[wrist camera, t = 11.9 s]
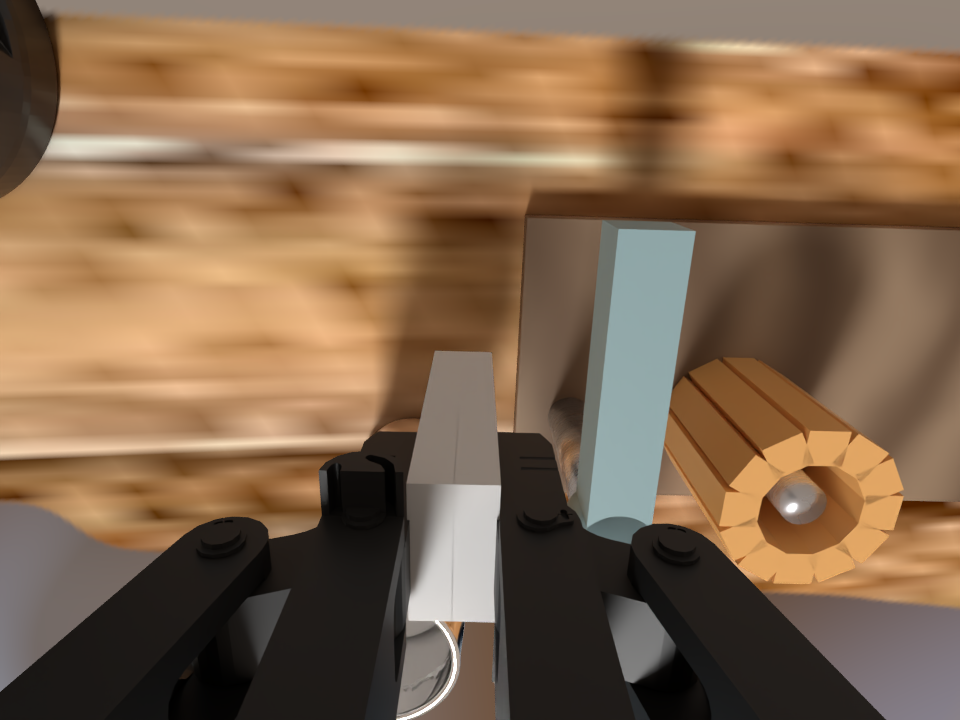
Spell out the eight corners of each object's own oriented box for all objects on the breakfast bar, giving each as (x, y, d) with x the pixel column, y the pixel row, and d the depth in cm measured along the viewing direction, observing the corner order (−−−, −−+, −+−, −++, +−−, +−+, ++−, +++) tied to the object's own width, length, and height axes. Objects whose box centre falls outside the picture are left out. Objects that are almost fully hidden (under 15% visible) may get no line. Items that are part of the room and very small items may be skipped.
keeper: (636, 546, 25) (652, 587, 23) (561, 545, 25) (570, 585, 23) (682, 222, 21) (708, 231, 18) (591, 219, 21) (605, 228, 18)
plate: (510, 478, 37) (512, 491, 35) (525, 214, 31) (527, 217, 30) (987, 489, 37) (1007, 502, 36) (1081, 231, 32) (1110, 235, 30)
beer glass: (336, 435, 36) (244, 624, 21) (441, 393, 35) (416, 560, 21) (388, 525, 38) (335, 750, 24) (488, 487, 37) (495, 697, 23)
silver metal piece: (546, 435, 34) (570, 533, 25) (549, 396, 33) (575, 484, 24) (739, 439, 34) (828, 538, 25) (746, 401, 33) (842, 490, 25)
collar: (652, 476, 35) (708, 581, 26) (669, 355, 32) (738, 429, 24) (779, 479, 35) (875, 585, 27) (807, 359, 32) (923, 433, 24)
